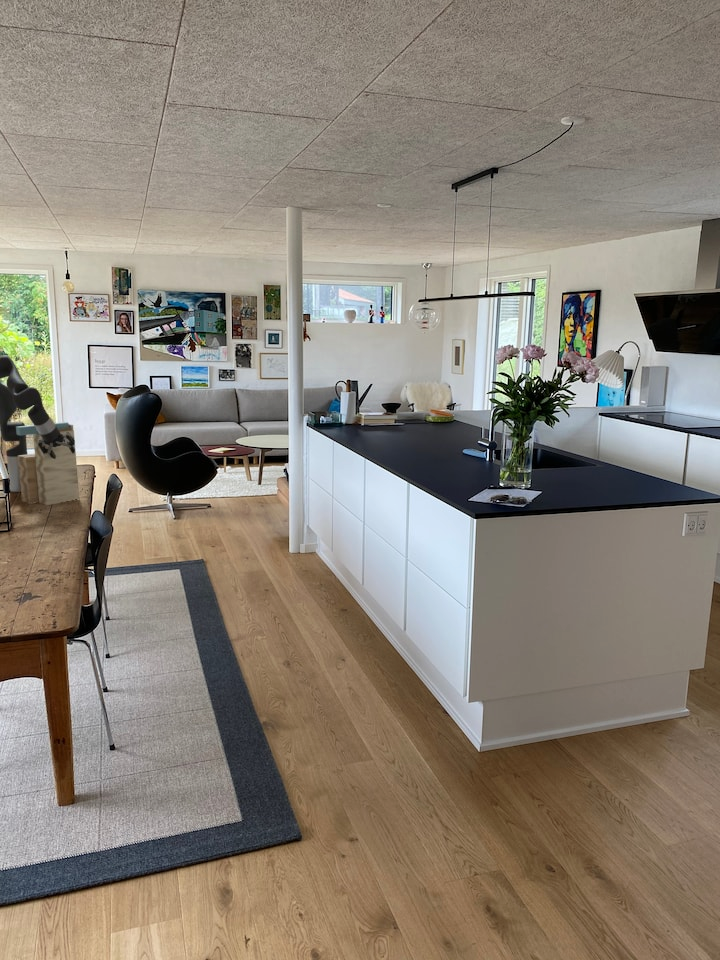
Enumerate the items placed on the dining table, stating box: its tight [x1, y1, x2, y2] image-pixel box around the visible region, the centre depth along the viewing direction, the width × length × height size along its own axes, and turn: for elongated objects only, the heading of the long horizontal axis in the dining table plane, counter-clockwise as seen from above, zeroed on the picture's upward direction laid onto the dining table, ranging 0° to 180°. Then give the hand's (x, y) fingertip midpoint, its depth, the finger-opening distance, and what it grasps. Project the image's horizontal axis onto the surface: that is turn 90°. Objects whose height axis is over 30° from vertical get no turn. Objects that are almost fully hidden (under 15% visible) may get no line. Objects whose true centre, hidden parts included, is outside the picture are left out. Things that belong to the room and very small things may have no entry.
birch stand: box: [32, 423, 80, 506], centre depth 332 cm, size 8×15×34 cm, turn 138°
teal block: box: [16, 421, 69, 436], centre depth 325 cm, size 4×22×4 cm, turn 138°
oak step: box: [18, 453, 39, 505], centre depth 336 cm, size 8×14×21 cm, turn 138°
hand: (64, 454), depth 325 cm, fingers open, 8 cm apart
